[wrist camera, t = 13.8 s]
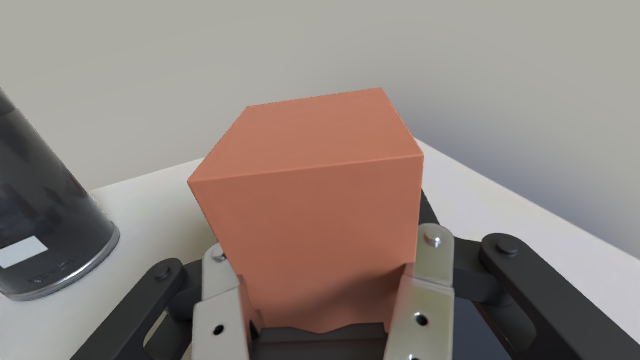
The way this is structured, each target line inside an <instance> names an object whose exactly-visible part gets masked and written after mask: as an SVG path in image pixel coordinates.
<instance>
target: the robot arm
mask: <svg viewBox="0 0 640 360" xmlns="http://www.w3.org/2000/svg"><path fill="white" fill-rule="evenodd" d="M118 239H119V230H118V229H117V227H116V226H115V225H114V224H113V223H112V222H111V221H109V220H108V218H107V217H106V216H105V215H104V213H103V212H102V211H101V210H100V208H99V207H98V206H97V205H96V203H95V202H94V201H93V200H92V198H91V197H90V196H89V195H88V193H87V192H86V191H85V190H84V189H83V187H82V186H81V185H80V184H79V183H78V181H77V180H76V179H75V178H74V176H73V175H72V174H71V173H70V171H69V170H68V169H67V168H66V167H65V165H64V164H63V163H62V162H61V160H60V159H59V158H58V157H57V156H56V154H55V153H54V152H53V151H52V150H51V148H50V147H49V146H48V145H47V143H46V142H45V141H44V140H43V138H42V137H41V136H40V135H39V134H38V132H37V131H36V130H35V129H34V127H33V126H32V125H31V124H30V123H29V121H28V120H27V119H26V118H25V116H24V115H23V114H22V113H21V112H20V110H19V109H18V108H16V106H15V105H14V104H13V102H12V101H11V100H10V99H9V97H8V96H7V95H6V94H5V92H4V91H3V90H2V89H1V88H0V292H1V293H2V294H3V295H5V296H6V297H8V298H9V299H11V300H14V301H27V300H33V299H37V298H40V297H43V296H46V295H48V294H51V293H53V292H56V291H58V290H60V289H62V288H64V287H66V286H68V285H69V284H71V283H73V282H75V281H76V280H78V279H79V278H81V277H82V276H84V275H85V274H87V273H88V272H89V271H91V270H92V269H93V268H95V267H96V266H97V265H98V264H99V263H100V262H102V261H103V260H104V259H105V258H106V257H107V256H108V254H109V253H110V252H111V251H112V250H113V248H114V247H115V245H116V243H117V241H118ZM454 296H455V297H459V298H463V299H468V300H471V302H472V304H473V305H474V306H475V308H476V309H477V311H478V312H479V313H480V315H481V316H482V318H483V319H484V321H485V322H486V323H487V325H488V326H489V328H490V329H491V330H492V332H493V333H494V335H495V336H496V338H497V339H498V340H499V342H500V343H501V345H502V346H503V347H504V349H505V350H506V352H507V353H508V355H509V356H510V357H511V359H512V360H640V345H639V344H638V343H637V342H636V341H635V340H634V339H632V338H631V337H630V336H629V335H628V334H627V333H626V332H625V331H623V330H622V329H621V328H620V327H619V326H618V325H617V324H616V323H614V322H613V321H612V320H611V319H610V318H609V317H608V316H607V315H605V314H604V313H603V312H602V311H601V310H600V309H599V308H598V307H596V306H595V305H594V304H593V303H592V302H591V301H590V300H589V299H587V298H586V297H585V296H584V295H583V294H582V293H581V292H580V291H578V290H577V289H576V288H575V287H574V286H573V285H572V284H571V283H569V282H568V281H567V280H566V279H565V278H564V277H563V276H562V275H561V274H559V273H558V272H557V271H556V270H555V269H554V268H553V267H552V266H550V265H549V264H548V263H547V262H546V261H545V260H544V259H543V258H541V257H540V256H539V255H538V254H537V253H536V252H535V251H534V250H532V249H531V248H530V247H529V246H528V245H527V244H526V243H524V242H523V241H522V240H520V239H518V238H516V237H514V236H511V235H508V234H503V233H492V234H488V235H486V236H485V237H484V238H483V239H482V242H478V241H471V240H465V239H460V238H457V237H455V236H453V234H452V233H451V232H450V231H449V230H448V229H447V228H445V227H443V226H441V225H440V224H439V222H438V220H437V218H436V216H435V214H434V212H433V210H432V208H431V206H430V204H429V202H428V200H427V198H426V196H425V195H424V192H423V190H422V188H421V197H420V209H419V221H418V233H417V245H416V257H415V262H411V263H406V265H405V270H404V274H402V276H401V280H400V284H399V288H398V293H397V298H396V302H395V307H394V311H393V316H392V320H391V325H390V330H389V333H388V332H385V328H384V322H375V323H354V324H349V325H346V326H343V327H340V328H337V329H334V330H331V331H328V332H325V333H315V332H311V331H307V330H302V329H298V328H294V327H269V328H265V323H264V318H263V315H262V313H261V311H260V309H254V308H253V306H252V304H251V301H250V298H249V295H248V290H247V284H246V281H245V279H244V277H243V275H242V274H238V275H236V274H235V272H234V271H233V269H232V267H231V265H230V263H229V261H228V259H227V257H226V255H225V253H224V252H223V250H222V248H221V246H220V244H219V242H218V243H216V244H214V245H213V246H211V247H210V248H209V249H208V250H207V251H206V252H205V254H204V256H203V259H200V260H197V261H194V262H191V263H188V264H185V265H183V264H182V263H181V261H180V260H179V259H177V258H168V259H165V260H162V261H160V262H158V263H157V264H155V265H154V266H152V267H151V268H150V269H149V270H148V271H147V272H146V274H145V275H144V276H143V277H142V278H141V279H140V280H139V281H138V283H137V284H136V285H135V286H134V287H133V288H132V289H131V291H130V292H129V293H128V294H127V295H126V296H125V297H124V298H123V300H122V301H121V302H120V303H119V304H118V305H117V306H116V308H115V309H114V310H113V311H112V312H111V313H110V314H109V316H108V317H107V318H106V319H105V320H104V321H103V322H102V323H101V325H100V326H99V327H98V328H97V329H96V330H95V331H94V333H93V334H92V335H91V336H90V337H89V338H88V339H87V340H86V342H85V343H84V344H83V345H82V346H81V347H80V348H79V350H78V351H77V352H76V353H75V354H74V355H73V356H72V357H71V359H70V360H181V358H182V356H183V354H184V353H185V351H186V349H187V348H188V346H189V344H190V342H191V341H192V351H191V360H452V345H453V318H454ZM164 310H165V311H166V312H167V313H168V314H167V315H166V317H165V318H164V320H163V321H162V322H161V324H160V325H159V327H158V328H157V329H156V331H155V332H154V334H153V335H152V337H151V338H150V339H149V341H148V342H147V344H146V345H145V347H144V348H143V341H144V338H145V336H146V334H147V333H148V332H149V330H150V329H151V327H152V326H153V325H154V323H155V322H156V320H157V319H158V318H159V316H160V315H161V314H162V312H163V311H164Z"/></svg>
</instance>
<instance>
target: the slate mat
mask: <svg viewBox="0 0 640 360" xmlns="http://www.w3.org/2000/svg"><path fill="white" fill-rule="evenodd" d="M452 360H512V359H511V357H510V356H509V355H508V353H507V352H506V350H505V349H504V347H503V346H502V345H501V343H500V342H499V340H498V339H497V338H496V336H495V335H494V333H493V332H492V330H491V329H490V328H489V326H488V325H487V323H486V322H485V321H484V319H483V318H482V316H481V315H480V313H479V312H478V311H477V309H476V308H475V306H474V305H473V304H472V302H471V300H468V299H463V298H459V297H455V296H454V318H453V345H452Z"/></svg>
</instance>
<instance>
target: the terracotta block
mask: <svg viewBox="0 0 640 360" xmlns="http://www.w3.org/2000/svg"><path fill="white" fill-rule="evenodd" d="M423 161H424V154H423V152H422V151H421V149H420V147H419V146H418V144H417V143H416V141H415V140H414V138H413V136H412V135H411V133H410V132H409V130H408V128H407V127H406V125H405V124H404V122H403V121H402V119H401V117H400V116H399V114H398V113H397V111H396V110H395V108H394V107H393V105H392V103H391V102H390V100H389V98H388V97H387V95H386V94H385V92H384V91H383V89H382V88H374V89H367V90H360V91H352V92H346V93H338V94H331V95H325V96H318V97H310V98H303V99H296V100H289V101H283V102H275V103H268V104H261V105H254V106H248V107H246V109H245V110H244V111H243V112H242V114H241V115H240V116H239V117H238V118H237V120H236V121H235V122H234V124H233V125H232V126H231V127H230V128H229V130H228V131H227V132H226V133H225V134H224V136H223V137H222V138H221V139H220V141H219V142H218V143H217V144H216V145H215V147H214V148H213V149H212V150H211V152H210V153H209V154H208V155H207V157H206V158H205V159H204V160H203V161H202V163H201V164H200V165H199V166H198V168H197V169H196V170H195V171H194V173H193V174H192V175H191V176H190V177H189V179H188V180H187V183H188V185H189V187H190V189H191V191H192V193H193V195H194V196H195V198H196V200H197V202H198V204H199V206H200V208H201V210H202V212H203V214H204V215H205V217H206V219H207V221H208V223H209V225H210V227H211V229H212V231H213V233H214V234H215V236H216V238H217V240H218V242H219V244H220V246H221V248H222V250H223V252H224V253H225V255H226V257H227V259H228V261H229V263H230V265H231V267H232V269H233V271H234V272H235V274H236V275H238V274H242V275H243V277H244V279H245V281H246V284H247V290H248V295H249V298H250V301H251V304H252V306H253V308H254V309H260V311H261V313H262V315H263V318H264V323H265V328H269V327H294V328H298V329H302V330H307V331H311V332H315V333H325V332H328V331H331V330H334V329H337V328H340V327H343V326H346V325H349V324H354V323H375V322H384V328H385V332H388V333H389V330H390V325H391V320H392V316H393V311H394V307H395V302H396V298H397V293H398V288H399V284H400V280H401V276H402V274H404V270H405V265H406V263H411V262H415V257H416V245H417V233H418V221H419V209H420V197H421V185H422V173H423Z"/></svg>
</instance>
